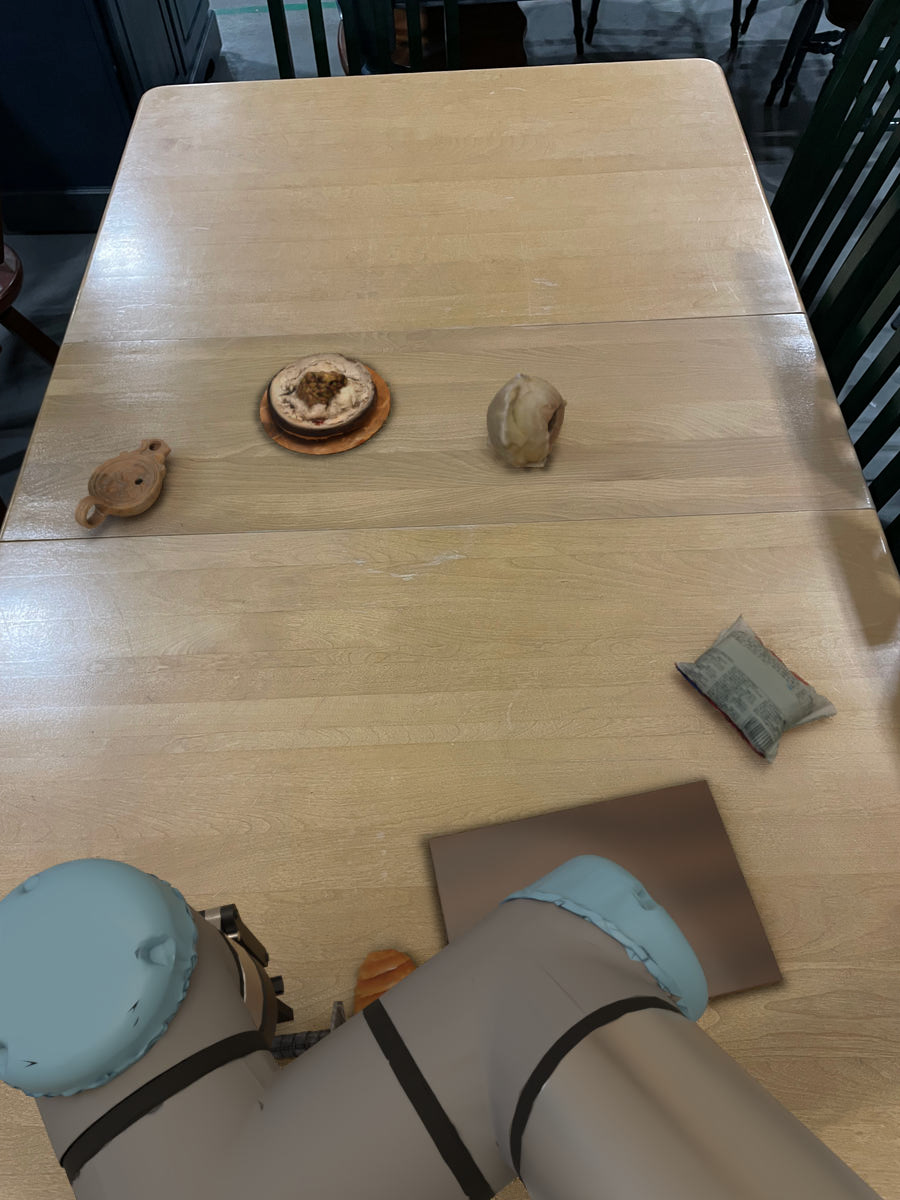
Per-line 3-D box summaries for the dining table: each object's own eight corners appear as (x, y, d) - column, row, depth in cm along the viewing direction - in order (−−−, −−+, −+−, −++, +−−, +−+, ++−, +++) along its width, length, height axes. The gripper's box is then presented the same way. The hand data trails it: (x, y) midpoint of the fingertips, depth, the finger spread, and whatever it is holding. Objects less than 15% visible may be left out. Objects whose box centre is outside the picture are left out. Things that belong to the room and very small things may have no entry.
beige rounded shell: (503, 486, 94) (479, 443, 85) (486, 423, 97) (461, 375, 88) (585, 458, 92) (570, 411, 83) (565, 394, 95) (548, 343, 86)
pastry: (339, 966, 66) (333, 957, 62) (423, 940, 67) (421, 930, 63) (366, 1101, 61) (361, 1099, 58) (456, 1071, 62) (456, 1068, 59)
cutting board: (778, 982, 64) (783, 980, 63) (470, 1056, 62) (470, 1054, 61) (703, 784, 73) (706, 779, 72) (428, 843, 71) (428, 839, 70)
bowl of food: (273, 468, 93) (266, 441, 89) (249, 376, 100) (241, 349, 97) (403, 436, 95) (401, 409, 91) (370, 349, 103) (366, 321, 99)
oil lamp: (146, 445, 95) (131, 414, 91) (198, 470, 93) (185, 439, 89) (64, 528, 89) (43, 498, 85) (117, 556, 87) (99, 527, 83)
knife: (475, 980, 56) (483, 1066, 54) (485, 982, 58) (494, 1065, 56) (238, 1013, 62) (236, 1092, 59) (254, 1014, 64) (252, 1091, 61)
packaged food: (735, 628, 81) (749, 601, 77) (831, 721, 76) (851, 698, 71) (666, 676, 78) (677, 650, 74) (760, 776, 73) (777, 755, 69)
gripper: (108, 858, 45) (218, 942, 65) (107, 1247, 36) (234, 1206, 56) (249, 829, 46) (315, 920, 66) (282, 1202, 37) (347, 1178, 57)
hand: (278, 1052), depth 61 cm, fingers closed on knife, 4 cm apart
